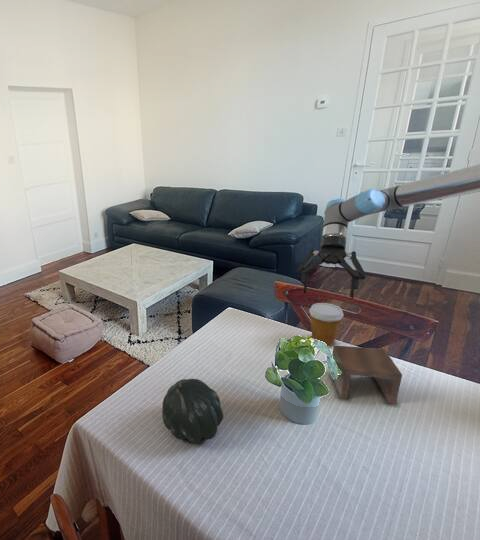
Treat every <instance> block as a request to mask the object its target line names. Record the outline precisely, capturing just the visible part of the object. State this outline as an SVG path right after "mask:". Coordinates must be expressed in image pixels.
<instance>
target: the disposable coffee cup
mask: <svg viewBox="0 0 480 540" xmlns="http://www.w3.org/2000/svg"><path fill="white" fill-rule="evenodd" d="M308 312H309V314H310V328H311V329H310V330H311V331H310V332H311V338H312V337H313V338H314V339H317V340H320V341H323V342H325V343H326V344H327V345H328V346H327V347H329V346H330V347H331V346H334V343H335V341H336V337H337V334H338V331H339V327H340V324H341V321H342V319H343V318H344V316H345V315H344V312H343V309H342V308H341V307H340V306H338V305H336V304H333V303H328V302H316V303H313V304H312V305H311V307H310V308H309V309H308Z"/></svg>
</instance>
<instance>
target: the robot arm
mask: <svg viewBox="0 0 480 540" xmlns="http://www.w3.org/2000/svg"><path fill="white" fill-rule="evenodd" d="M479 192H480V163H478V164H474V165H471V166H467V167H463V168H460V169H456V170H452V171H447V172H445V173H441V174H436V175H433V176H430V177H426V178H425V177H424V178H421V179H418V180H414V181H410V182H407V183H401V184H399V185H396V186H390V187H387V188H383V189H376V188H369V189H367V190H364V191H361V192H359V193H358V194H356V195H354V196H352V197H350V198H349V199H345V198H336V199H331V200H329V201H328V202H327V203H326V206H325V210H324V219H323V224H322V225H323V226H322V233H321V242H320V249H319V250H315V249H314V248H310V250H309V252H308V253H309V254H308V255H307V256H306V257H305V258H304V260H302V263H301V264H300V265H299V266H298V267H297V268H296V272H297V274H298V275H299V274H300V275H301V284H304V285H303V294H307V290H308V282H309V274H310V273H311V272H312V271H313V270H315V269H316V268H317V267H319V266H320V265H323V264H326V265H339V266H340V267H342V268H343V269H344V271H346V273H347V274H348V275H349V276H350V278H351V280H350V281H351V282H350V292H349V299H351V300H353V298H354V292H355V290H357V289H358V288H359V286H360V281H361V280H366V277H367V274H366V271H365V270H364V268H363V266H362V265H361V263H360V261H359V259H358V257H357V252H356V251H355V250H353V251H351V252H347V251H346V249H347V248H346V246H347V238H348V227H349V226H348V225H349V223H350V222H353V221H356V220H359V219H360V218H364V217H366V216H369V215H374V214H377V213H382V212H387V211H391V210H396V209H401V208H405V207H409V206H415V205H419V204H425V203H430V202H435V201H439V200H446V199H449V198H454V197H460V196H464V195H465V196H466V195H469V194H474V193H479ZM317 255H318V257H317V259H316V260H315V261H314V262H312V263H310V262H311V261H312V260H313V258H315V257H316V256H317ZM346 257H347V258H348V259H349V260H351V263H352V265H353V267H354V268H353V267H352V266H350V263H348V262H347V261H346V259H345V258H346ZM354 269H355V270H354ZM350 297H352V298H350Z"/></svg>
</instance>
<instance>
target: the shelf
mask: <svg viewBox="0 0 480 540" xmlns="http://www.w3.org/2000/svg"><path fill="white" fill-rule="evenodd" d="M332 349H333V350H332V354H331V357H332V356H333V359H334V360H335V362H336V364H337V366H338V368H339V369H340V370H341V371H342V374H341V375H338V377H337V379H333V378H332V379H333V382H334V385H335V387H336V390H337V392H338V395H339V397H340V399H348V397H349V390H350V384H351V379H352V378H351V377H352V376H357V377H369V378H374V381H375V382H376V384H377V385H378V387H379V389H380V391H381V393H382V394H383V396H384V398H385V399H386V401H387V403H388V404H392V405H396V404H397V400H398V395H399V393H400V392H399V391H400V386H401V383H402V378H403V374H402V372H401V370H400V369H399V368H398V366H397V365H396V364H395V362H394V361H393V359H392V358H391V356H390V354H389V353H388V352H387V350H386V349H385V348H377V347H362V346H361V347H360V346H347V345H333V348H332Z"/></svg>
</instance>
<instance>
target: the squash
mask: <svg viewBox="0 0 480 540" xmlns="http://www.w3.org/2000/svg"><path fill="white" fill-rule="evenodd" d="M161 406H162V411H161V412H162V413H161V415H162V416H161V417H162V421H163V422H162V423H163V424H164V427H166V429H167V430H169V431H170V432H171V434H172V435H173V437H174V438H176V439H179V440H183V439H187V440H188V441H189V442H191V443H192V444H199V443H200V442H201V440H202V439H204V440H212V439H214V438H215V437H216V435H217V434H218V433H217V432H218V427H219V426H220V425H221V423H222V421H223V419H224V413H223V408H222V407H221V400H220V397H219V395H218V394H217V392H216V391H215V389H213V388H210V385H208V384H206V383H205V382H204V381H203V380H201V379H199V378H198V379H197V378H183V379H179V380H178V381H176V382H175V383H174V384H172V385H171V386H170V387H169V388H168V390H167V391H166V394H165V396H164V397H163V400H162V405H161Z"/></svg>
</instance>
